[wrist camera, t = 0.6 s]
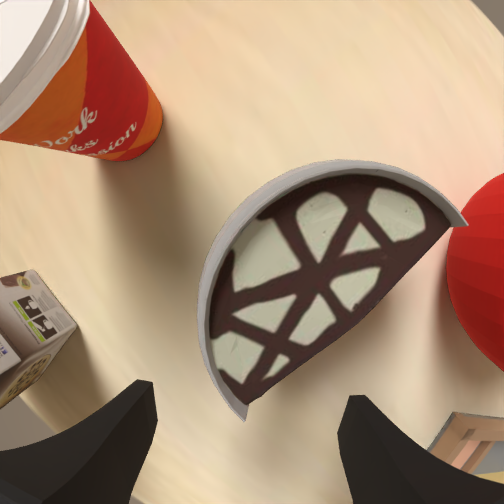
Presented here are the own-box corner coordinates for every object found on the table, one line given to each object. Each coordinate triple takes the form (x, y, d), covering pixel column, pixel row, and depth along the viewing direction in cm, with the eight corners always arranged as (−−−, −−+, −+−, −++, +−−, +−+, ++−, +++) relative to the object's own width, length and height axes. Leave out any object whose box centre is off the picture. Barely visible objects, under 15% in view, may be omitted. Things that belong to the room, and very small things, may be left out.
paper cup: (68, 164, 20) (-87, 132, 6) (103, 70, 19) (-12, -25, 5) (158, 189, 20) (2, 152, 6) (196, 83, 19) (118, -63, 5)
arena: (456, 519, 23) (464, 532, 20) (356, 529, 23) (361, 547, 20) (536, 419, 21) (549, 430, 18) (452, 411, 21) (468, 428, 18)
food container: (324, 143, 19) (377, 82, 9) (385, 215, 20) (476, 215, 10) (182, 269, 20) (117, 314, 10) (246, 337, 21) (233, 428, 11)
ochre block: (483, 495, 22) (496, 514, 18) (441, 501, 22) (455, 525, 17) (504, 471, 21) (519, 489, 17) (465, 475, 21) (481, 498, 17)
